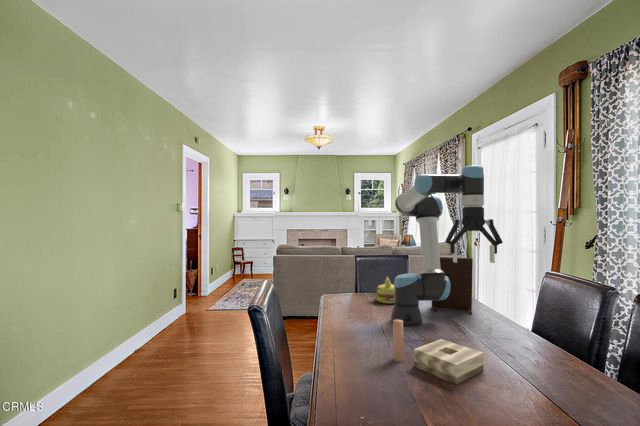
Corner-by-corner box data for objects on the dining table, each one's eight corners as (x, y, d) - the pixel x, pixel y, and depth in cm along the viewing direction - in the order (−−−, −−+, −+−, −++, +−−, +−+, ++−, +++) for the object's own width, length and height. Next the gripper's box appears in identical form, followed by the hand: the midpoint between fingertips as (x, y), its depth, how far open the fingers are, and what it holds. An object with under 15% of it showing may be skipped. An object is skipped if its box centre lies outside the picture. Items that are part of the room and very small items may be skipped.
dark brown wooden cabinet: (471, 310, 188) (470, 256, 189) (473, 315, 178) (472, 258, 179) (431, 307, 195) (431, 255, 196) (431, 311, 185) (431, 257, 186)
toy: (375, 298, 216) (375, 275, 216) (399, 299, 214) (399, 275, 215) (376, 304, 201) (376, 279, 201) (403, 305, 199) (403, 279, 199)
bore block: (414, 366, 117) (414, 349, 117) (441, 355, 126) (441, 339, 126) (456, 384, 104) (456, 365, 104) (483, 370, 113) (483, 352, 114)
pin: (391, 359, 123) (390, 320, 123) (397, 356, 125) (397, 318, 125) (398, 362, 120) (398, 323, 120) (405, 360, 122) (405, 321, 122)
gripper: (441, 206, 126) (442, 263, 126) (512, 206, 124) (512, 264, 124) (437, 207, 134) (437, 260, 134) (503, 206, 131) (503, 261, 131)
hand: (473, 262), depth 129 cm, fingers open, 13 cm apart
